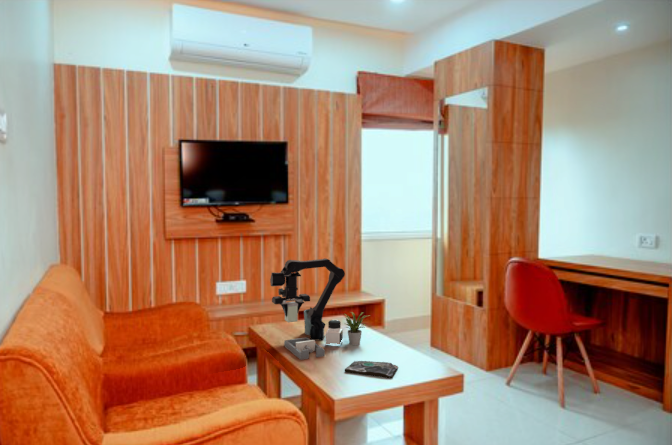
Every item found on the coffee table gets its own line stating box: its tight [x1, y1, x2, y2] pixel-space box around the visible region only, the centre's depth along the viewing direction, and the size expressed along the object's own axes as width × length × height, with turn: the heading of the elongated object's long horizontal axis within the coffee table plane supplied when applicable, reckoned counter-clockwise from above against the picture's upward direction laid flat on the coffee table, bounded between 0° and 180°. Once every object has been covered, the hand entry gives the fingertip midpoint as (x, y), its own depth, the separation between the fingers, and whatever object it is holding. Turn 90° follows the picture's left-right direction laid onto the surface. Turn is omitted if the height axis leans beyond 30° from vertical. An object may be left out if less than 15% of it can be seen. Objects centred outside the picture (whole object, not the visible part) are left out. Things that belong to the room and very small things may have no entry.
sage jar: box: [284, 301, 299, 323], centre depth 243 cm, size 5×5×9 cm
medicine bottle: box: [325, 319, 344, 345], centre depth 239 cm, size 7×7×12 cm
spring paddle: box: [295, 340, 316, 354], centre depth 224 cm, size 8×9×5 cm
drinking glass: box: [303, 308, 323, 336], centre depth 257 cm, size 10×10×12 cm
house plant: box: [344, 311, 371, 346], centre depth 241 cm, size 14×14×16 cm
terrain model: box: [344, 360, 399, 380], centre depth 205 cm, size 20×15×3 cm
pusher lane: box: [283, 336, 326, 360], centre depth 228 cm, size 21×12×4 cm, turn 26°
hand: (291, 315), depth 243 cm, fingers closed on sage jar, 5 cm apart
